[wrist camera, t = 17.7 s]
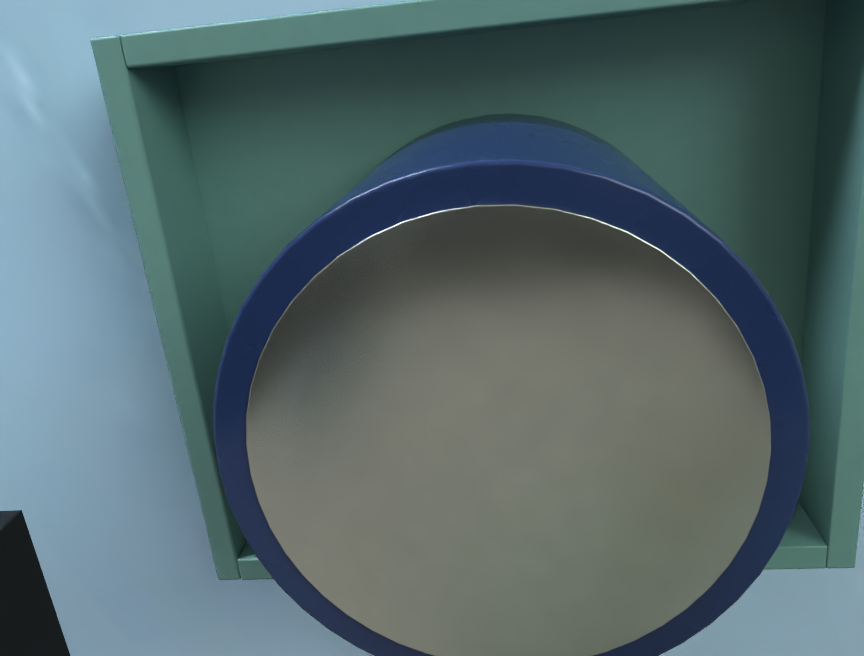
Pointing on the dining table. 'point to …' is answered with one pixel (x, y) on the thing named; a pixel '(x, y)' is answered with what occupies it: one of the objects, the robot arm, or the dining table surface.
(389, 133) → the tray
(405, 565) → the pot
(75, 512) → the dining table surface
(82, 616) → the dining table surface
